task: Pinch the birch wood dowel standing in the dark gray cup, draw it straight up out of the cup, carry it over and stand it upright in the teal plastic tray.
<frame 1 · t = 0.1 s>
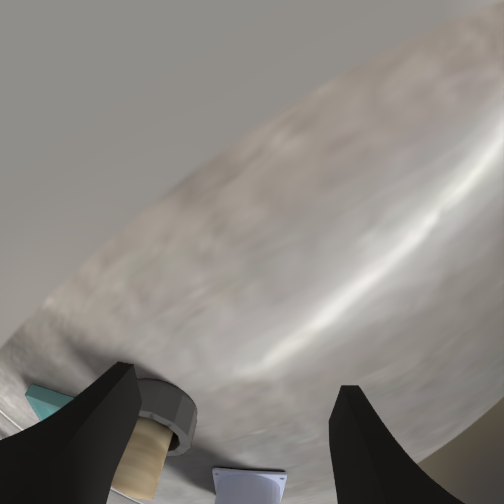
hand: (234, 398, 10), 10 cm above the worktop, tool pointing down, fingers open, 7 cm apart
teal tray: (91, 431, 29), on the worktop
birch dowel: (159, 409, 25), resting on dark gray cup
dark gray cup: (160, 404, 25), on the worktop
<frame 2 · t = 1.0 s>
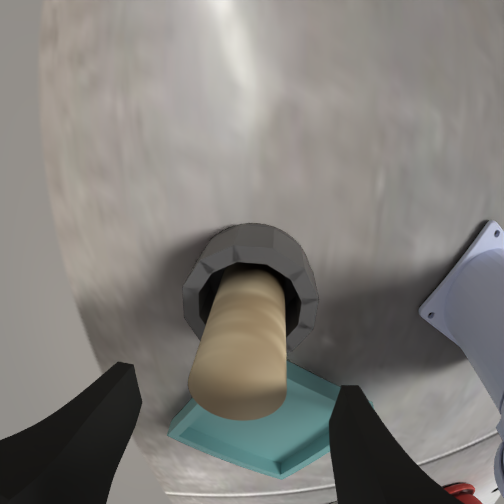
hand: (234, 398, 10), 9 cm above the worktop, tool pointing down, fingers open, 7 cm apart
teal tray: (267, 417, 24), on the worktop
plant pot: (439, 495, 32), on the worktop
birch dowel: (253, 281, 18), resting on dark gray cup
dark gray cup: (253, 277, 19), on the worktop
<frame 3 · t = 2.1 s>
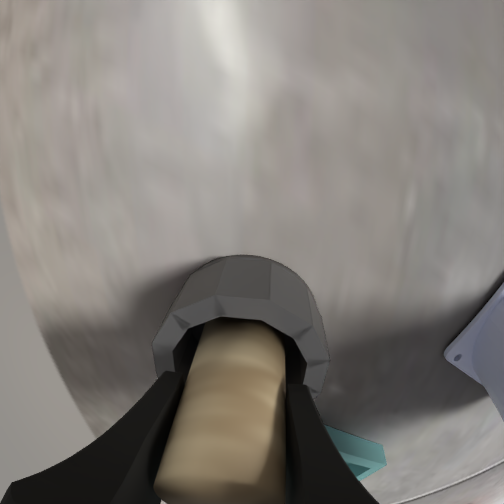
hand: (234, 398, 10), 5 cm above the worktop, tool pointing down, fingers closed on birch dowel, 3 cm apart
teal tray: (264, 461, 20), on the worktop
birch dowel: (245, 326, 14), resting on dark gray cup, touching gripper
dark gray cup: (246, 320, 15), on the worktop
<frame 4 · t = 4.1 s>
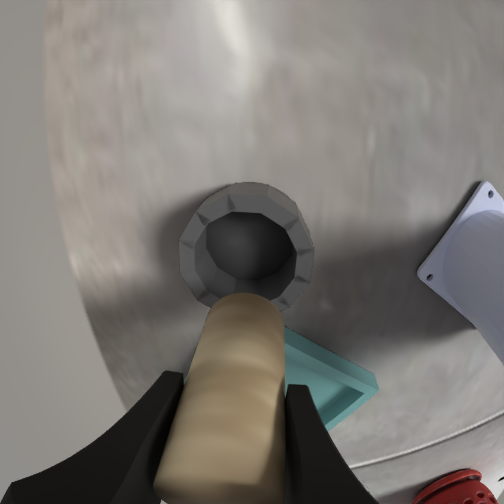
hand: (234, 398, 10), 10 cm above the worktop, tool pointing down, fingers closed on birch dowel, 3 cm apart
teal tray: (267, 391, 24), on the worktop
plant pot: (445, 483, 32), on the worktop
birch dowel: (245, 326, 14), point 6 cm above the worktop, touching gripper
dark gray cup: (249, 237, 19), on the worktop
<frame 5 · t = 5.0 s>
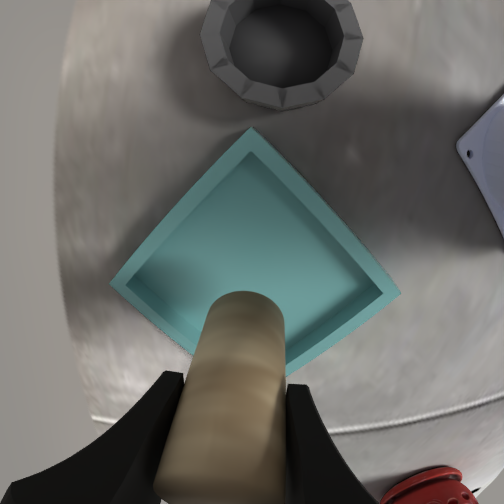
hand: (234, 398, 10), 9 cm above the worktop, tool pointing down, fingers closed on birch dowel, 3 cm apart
teal tray: (253, 276, 19), on the worktop
plant pot: (420, 481, 29), on the worktop
birch dowel: (245, 324, 14), point 5 cm above the worktop, touching gripper
dark gray cup: (280, 49, 14), on the worktop
when the fingers open (6 cm above the worktop, at t = 5.9 s): birch dowel stays where it is, resting on teal tray.
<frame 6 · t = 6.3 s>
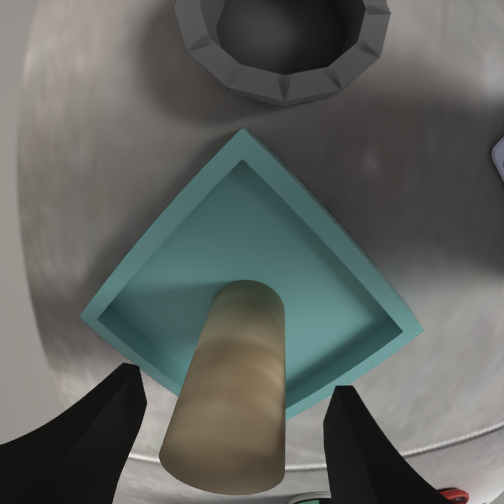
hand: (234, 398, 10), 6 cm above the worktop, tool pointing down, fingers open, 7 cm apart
teal tray: (247, 310, 16), on the worktop
spray can: (314, 500, 24), on the worktop
plant pot: (425, 503, 26), on the worktop
birch dowel: (247, 312, 15), resting on teal tray
dark gray cup: (281, 30, 11), on the worktop
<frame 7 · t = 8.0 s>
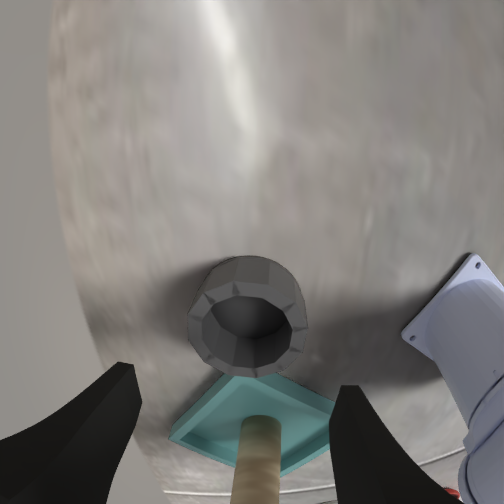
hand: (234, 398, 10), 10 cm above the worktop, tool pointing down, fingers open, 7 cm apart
teal tray: (261, 424, 26), on the worktop
plant pot: (425, 499, 34), on the worktop
birch dowel: (261, 426, 25), resting on teal tray
dark gray cup: (250, 302, 21), on the worktop
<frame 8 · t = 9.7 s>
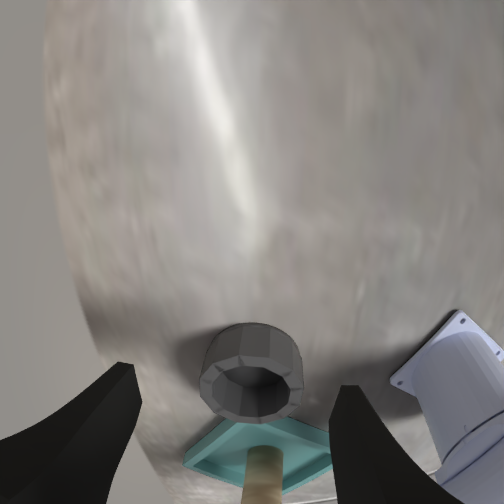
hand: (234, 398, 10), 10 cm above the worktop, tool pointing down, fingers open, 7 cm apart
teal tray: (265, 451, 27), on the worktop
birch dowel: (265, 454, 27), resting on teal tray
dark gray cup: (254, 359, 23), on the worktop
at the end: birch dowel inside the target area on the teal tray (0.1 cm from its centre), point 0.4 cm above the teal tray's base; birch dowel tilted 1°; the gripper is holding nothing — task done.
